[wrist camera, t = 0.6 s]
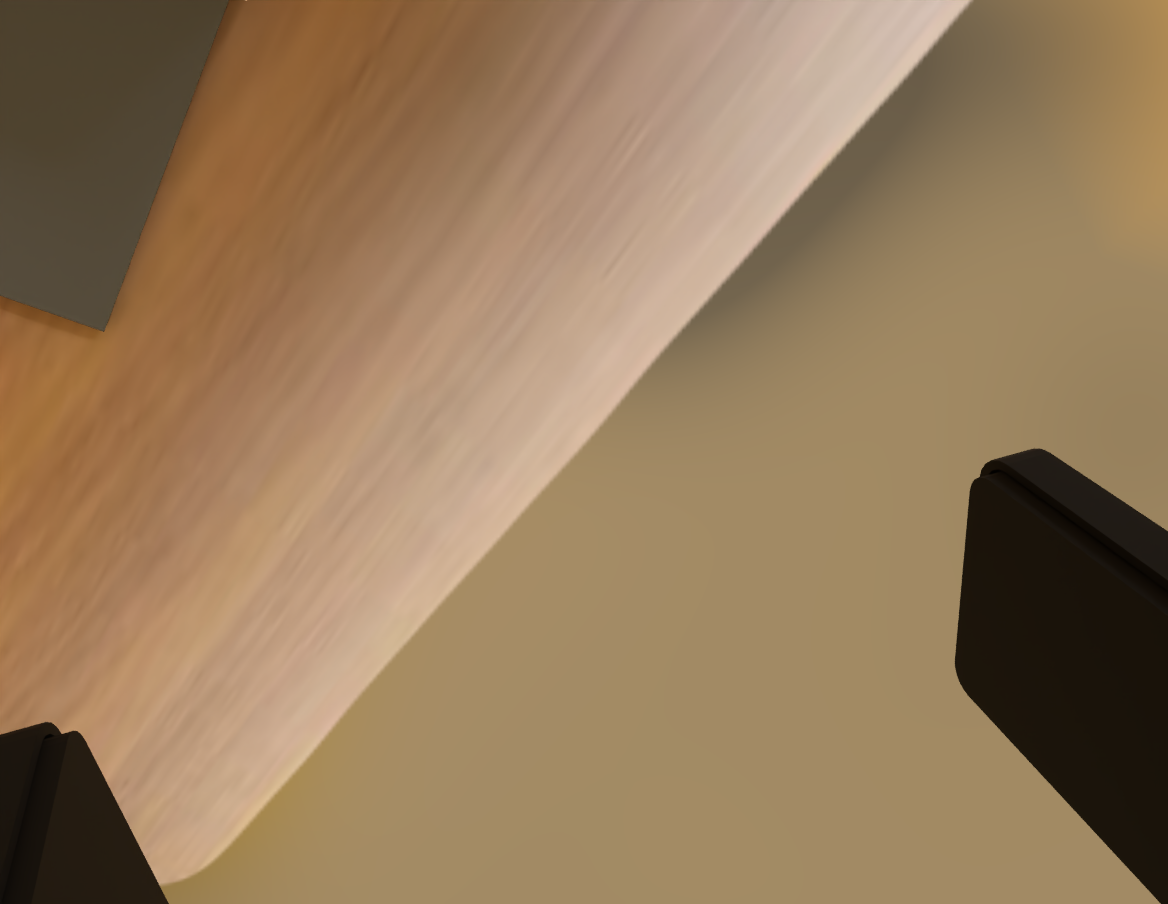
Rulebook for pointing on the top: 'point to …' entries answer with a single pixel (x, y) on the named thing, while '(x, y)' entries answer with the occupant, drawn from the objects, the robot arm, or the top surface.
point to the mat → (89, 138)
